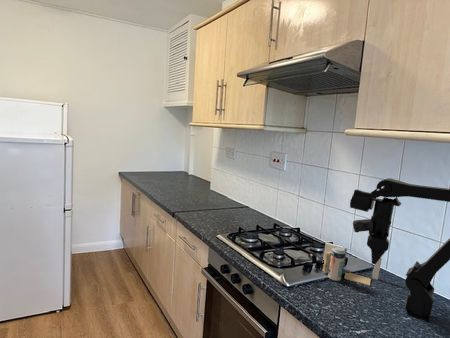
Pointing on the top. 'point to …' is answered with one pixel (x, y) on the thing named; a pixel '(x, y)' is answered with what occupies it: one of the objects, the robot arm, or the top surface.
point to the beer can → (336, 263)
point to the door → (327, 261)
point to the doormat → (357, 278)
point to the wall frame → (329, 249)
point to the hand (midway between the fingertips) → (373, 258)
